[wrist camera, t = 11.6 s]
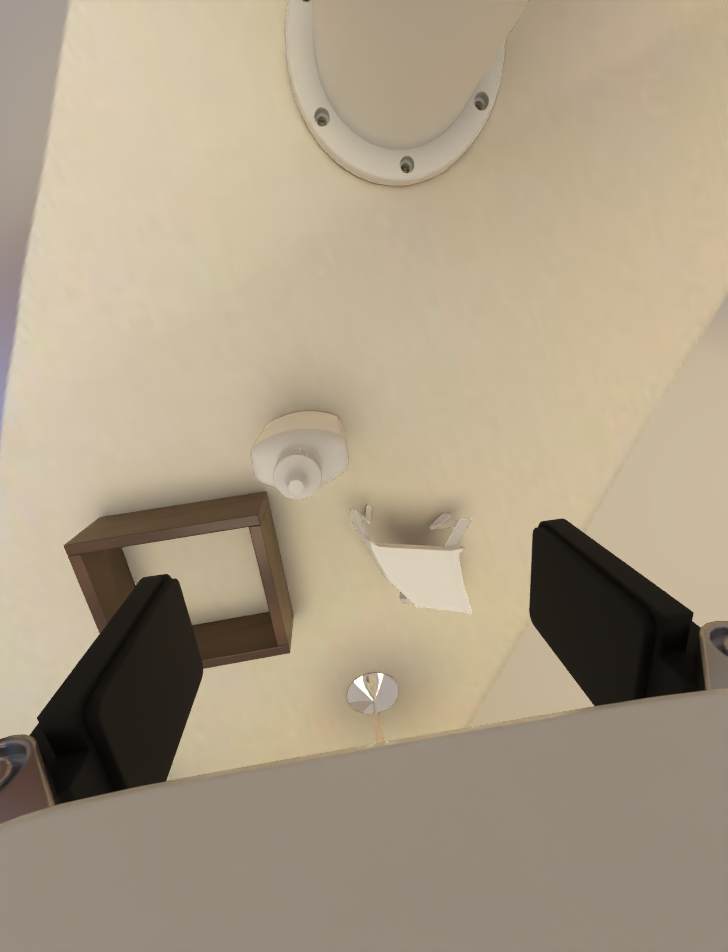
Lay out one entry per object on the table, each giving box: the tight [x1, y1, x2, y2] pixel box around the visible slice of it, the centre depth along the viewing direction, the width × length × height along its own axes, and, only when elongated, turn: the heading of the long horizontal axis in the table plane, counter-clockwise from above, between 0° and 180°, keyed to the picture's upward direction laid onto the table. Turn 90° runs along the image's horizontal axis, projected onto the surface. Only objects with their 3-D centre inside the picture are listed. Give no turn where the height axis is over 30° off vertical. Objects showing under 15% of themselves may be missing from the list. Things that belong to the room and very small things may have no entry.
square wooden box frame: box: [64, 492, 294, 669], centre depth 30 cm, size 12×13×4 cm
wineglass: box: [347, 673, 398, 743], centre depth 33 cm, size 7×7×12 cm
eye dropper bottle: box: [251, 411, 349, 500], centre depth 24 cm, size 4×6×12 cm
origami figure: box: [349, 505, 472, 615], centre depth 31 cm, size 12×8×5 cm
